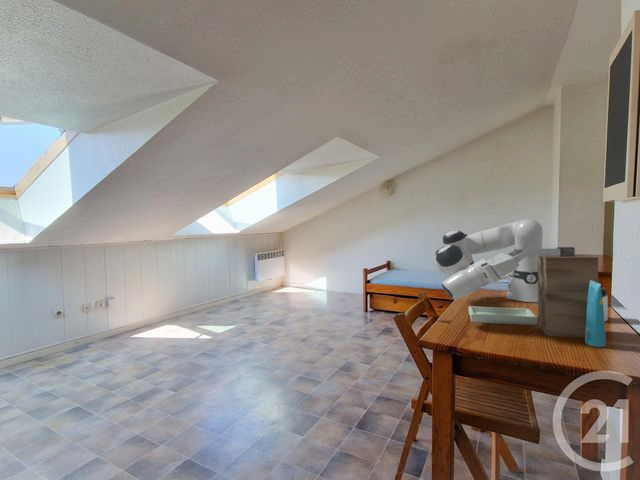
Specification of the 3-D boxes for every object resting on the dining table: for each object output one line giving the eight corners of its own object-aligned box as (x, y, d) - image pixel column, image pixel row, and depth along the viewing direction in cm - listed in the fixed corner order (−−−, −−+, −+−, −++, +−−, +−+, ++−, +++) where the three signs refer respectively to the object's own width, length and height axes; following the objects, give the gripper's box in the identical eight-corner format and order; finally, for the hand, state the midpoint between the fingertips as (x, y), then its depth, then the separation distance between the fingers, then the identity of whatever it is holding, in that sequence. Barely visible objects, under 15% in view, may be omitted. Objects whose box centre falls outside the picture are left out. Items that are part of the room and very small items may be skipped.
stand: (538, 326, 119) (537, 254, 118) (585, 329, 115) (584, 254, 114) (547, 335, 110) (546, 257, 109) (598, 338, 105) (598, 257, 104)
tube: (611, 349, 96) (611, 284, 96) (592, 348, 98) (591, 284, 97) (597, 340, 103) (597, 279, 103) (579, 340, 105) (579, 279, 104)
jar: (602, 324, 119) (601, 291, 119) (575, 319, 126) (574, 288, 126) (610, 319, 124) (610, 287, 124) (584, 315, 131) (583, 285, 131)
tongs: (514, 256, 118) (514, 247, 118) (571, 255, 112) (571, 246, 112) (516, 256, 115) (515, 248, 115) (574, 256, 109) (574, 247, 109)
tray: (468, 313, 140) (468, 306, 140) (528, 316, 133) (528, 308, 133) (471, 321, 128) (471, 314, 128) (537, 325, 121) (537, 317, 121)
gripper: (487, 274, 129) (522, 256, 125) (495, 283, 110) (537, 262, 105) (478, 260, 130) (512, 242, 125) (484, 267, 111) (525, 245, 106)
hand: (523, 251), depth 115 cm, fingers open, 8 cm apart
